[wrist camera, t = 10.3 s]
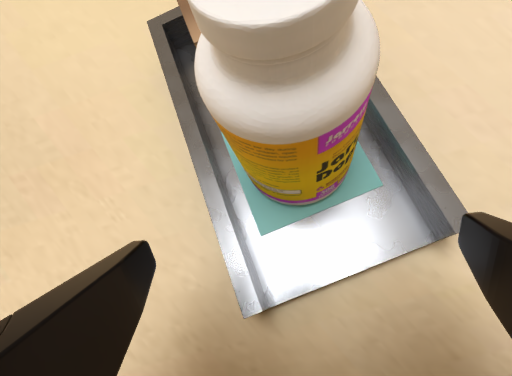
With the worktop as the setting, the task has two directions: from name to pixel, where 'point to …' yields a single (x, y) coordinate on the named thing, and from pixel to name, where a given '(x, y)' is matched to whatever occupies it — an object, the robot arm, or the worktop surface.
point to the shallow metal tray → (315, 214)
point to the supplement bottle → (288, 87)
